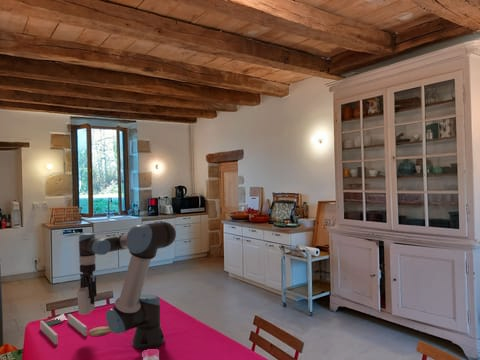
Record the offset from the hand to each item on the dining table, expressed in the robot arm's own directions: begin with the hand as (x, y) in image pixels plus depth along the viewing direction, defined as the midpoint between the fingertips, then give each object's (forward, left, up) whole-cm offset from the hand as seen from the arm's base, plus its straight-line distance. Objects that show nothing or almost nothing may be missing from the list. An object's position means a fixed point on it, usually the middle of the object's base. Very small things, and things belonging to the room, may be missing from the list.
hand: (88, 308), depth 192 cm
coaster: (+2, -7, -15) cm, 16 cm away
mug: (+1, 0, -2) cm, 2 cm away
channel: (+15, +8, -15) cm, 23 cm away
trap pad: (+33, +8, -15) cm, 37 cm away
